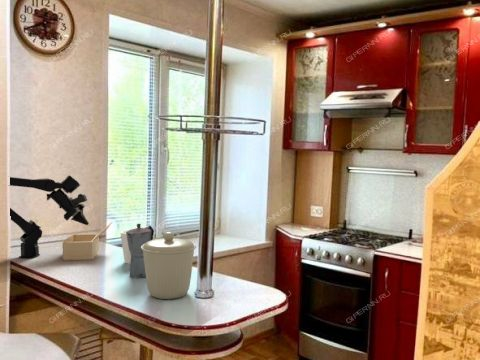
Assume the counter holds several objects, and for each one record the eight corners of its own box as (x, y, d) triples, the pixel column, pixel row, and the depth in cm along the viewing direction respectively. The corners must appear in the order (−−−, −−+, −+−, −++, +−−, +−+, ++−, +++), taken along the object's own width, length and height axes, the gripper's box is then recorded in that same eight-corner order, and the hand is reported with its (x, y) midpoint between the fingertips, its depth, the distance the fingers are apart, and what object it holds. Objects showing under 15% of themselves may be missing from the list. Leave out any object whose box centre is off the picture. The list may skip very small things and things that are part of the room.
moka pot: (118, 278, 170) (118, 225, 169) (142, 268, 184) (142, 219, 183) (140, 281, 166) (139, 227, 165) (162, 270, 181) (162, 221, 179)
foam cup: (148, 261, 196) (148, 231, 195) (132, 265, 188) (132, 234, 187) (132, 258, 201) (132, 229, 200) (116, 262, 193) (116, 232, 192)
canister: (206, 291, 155) (206, 230, 154) (174, 307, 139) (174, 239, 138) (163, 283, 164) (163, 225, 162) (129, 297, 148) (129, 233, 146)
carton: (62, 260, 195) (61, 242, 194) (71, 251, 213) (71, 234, 213) (92, 260, 196) (92, 241, 196) (99, 250, 215) (99, 233, 215)
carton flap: (107, 227, 198) (107, 228, 198) (112, 221, 214) (112, 222, 214) (92, 240, 197) (93, 241, 197) (98, 233, 213) (99, 234, 213)
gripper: (71, 190, 199) (97, 215, 201) (80, 186, 217) (104, 209, 220) (52, 207, 198) (78, 232, 201) (63, 202, 217) (87, 225, 219)
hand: (88, 224), depth 210 cm, fingers closed
